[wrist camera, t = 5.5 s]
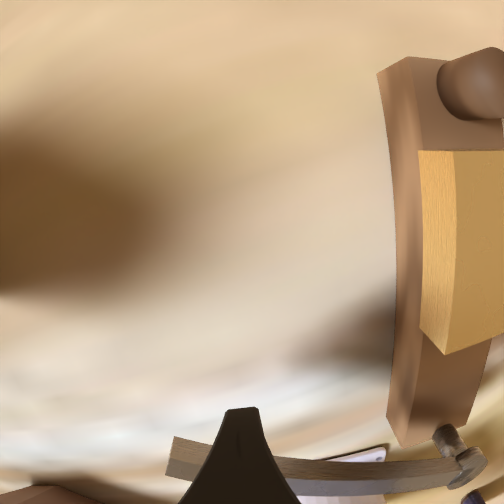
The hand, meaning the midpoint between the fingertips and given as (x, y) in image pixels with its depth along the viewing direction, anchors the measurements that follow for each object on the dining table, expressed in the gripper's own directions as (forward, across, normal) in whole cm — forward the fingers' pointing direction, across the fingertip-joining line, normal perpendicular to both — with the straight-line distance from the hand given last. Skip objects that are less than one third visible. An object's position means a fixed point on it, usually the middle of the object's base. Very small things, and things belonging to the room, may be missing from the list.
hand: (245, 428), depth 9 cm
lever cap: (+3, -10, -4) cm, 11 cm away
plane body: (+6, -10, -2) cm, 12 cm away
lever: (+3, -4, +4) cm, 6 cm away
